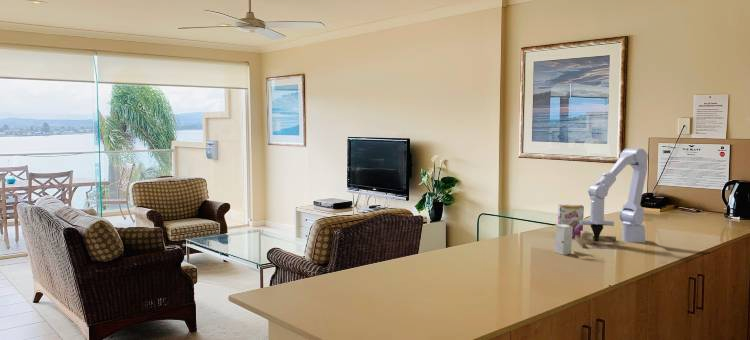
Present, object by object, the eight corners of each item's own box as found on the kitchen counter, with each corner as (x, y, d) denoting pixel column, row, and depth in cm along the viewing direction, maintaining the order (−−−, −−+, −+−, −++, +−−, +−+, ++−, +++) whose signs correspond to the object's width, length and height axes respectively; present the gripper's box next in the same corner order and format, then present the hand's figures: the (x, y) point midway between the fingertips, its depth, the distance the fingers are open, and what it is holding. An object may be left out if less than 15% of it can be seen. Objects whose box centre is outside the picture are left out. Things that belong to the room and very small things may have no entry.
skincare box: (554, 252, 254) (555, 224, 253) (563, 251, 255) (564, 224, 254) (563, 255, 248) (564, 226, 247) (572, 254, 249) (573, 226, 248)
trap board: (615, 243, 274) (615, 236, 273) (626, 252, 254) (626, 245, 254) (574, 241, 277) (575, 235, 276) (582, 250, 257) (582, 243, 257)
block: (592, 242, 270) (592, 231, 270) (592, 244, 265) (593, 233, 265) (580, 241, 271) (580, 230, 271) (580, 243, 267) (581, 232, 266)
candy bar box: (559, 239, 283) (560, 205, 281) (556, 237, 288) (557, 203, 286) (583, 239, 282) (584, 205, 280) (580, 237, 287) (581, 204, 285)
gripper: (582, 212, 263) (581, 242, 264) (616, 213, 261) (615, 243, 262) (579, 209, 270) (578, 239, 271) (612, 210, 268) (611, 240, 269)
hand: (596, 241), depth 267 cm, fingers closed
